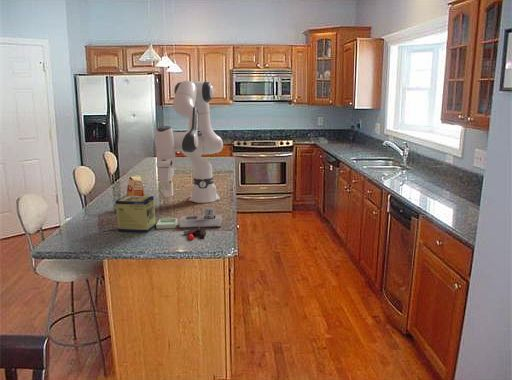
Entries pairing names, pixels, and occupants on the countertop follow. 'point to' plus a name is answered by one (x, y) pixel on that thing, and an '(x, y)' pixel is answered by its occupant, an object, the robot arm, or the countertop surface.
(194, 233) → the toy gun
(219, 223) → the grey box with openings
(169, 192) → the plug
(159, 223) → the tray
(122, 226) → the protein box
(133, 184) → the milk carton
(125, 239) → the countertop surface
